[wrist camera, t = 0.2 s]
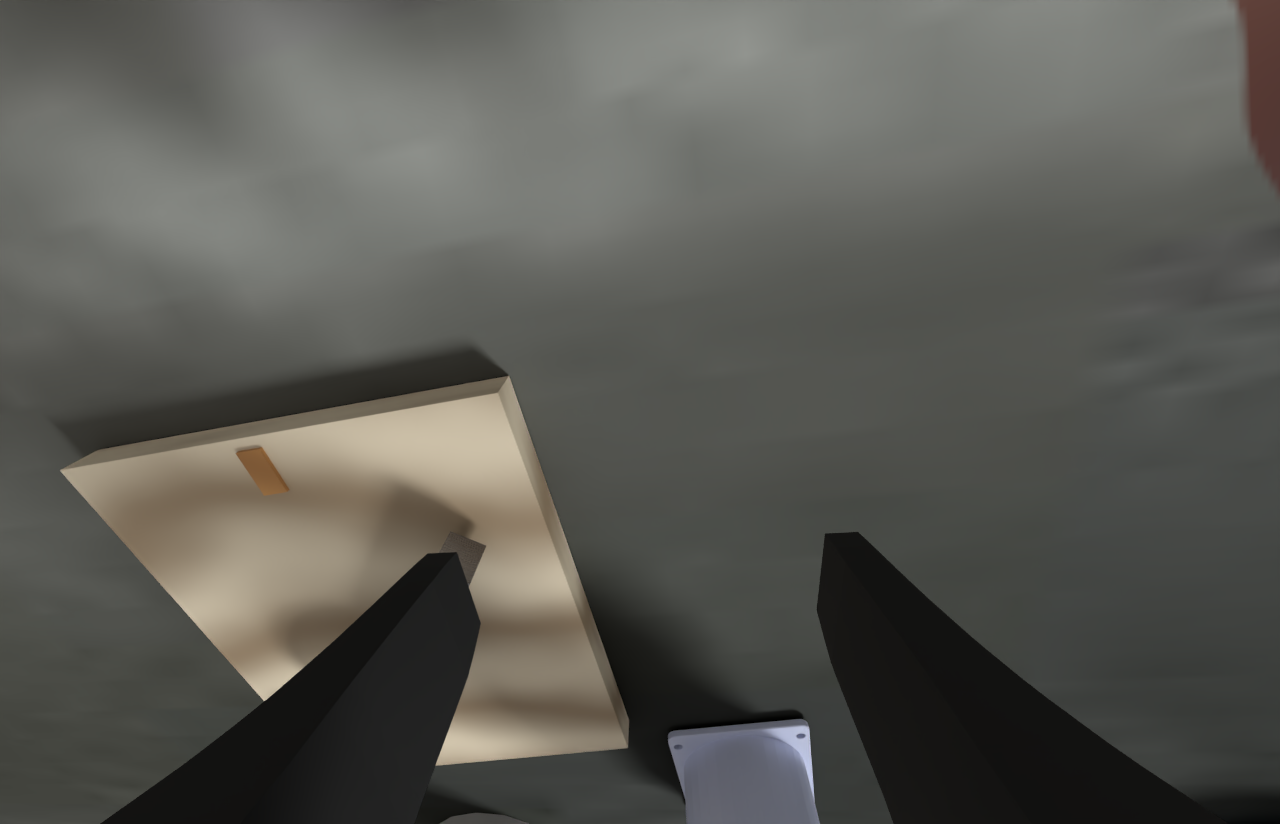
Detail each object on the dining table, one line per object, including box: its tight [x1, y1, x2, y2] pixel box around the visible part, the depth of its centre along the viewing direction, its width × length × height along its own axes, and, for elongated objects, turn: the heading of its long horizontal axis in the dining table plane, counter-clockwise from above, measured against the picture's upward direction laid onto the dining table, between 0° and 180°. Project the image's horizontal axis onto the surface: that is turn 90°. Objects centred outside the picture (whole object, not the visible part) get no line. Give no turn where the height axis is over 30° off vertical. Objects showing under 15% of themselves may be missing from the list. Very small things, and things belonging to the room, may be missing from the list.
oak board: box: [60, 376, 629, 766], centre depth 23 cm, size 22×18×4 cm
